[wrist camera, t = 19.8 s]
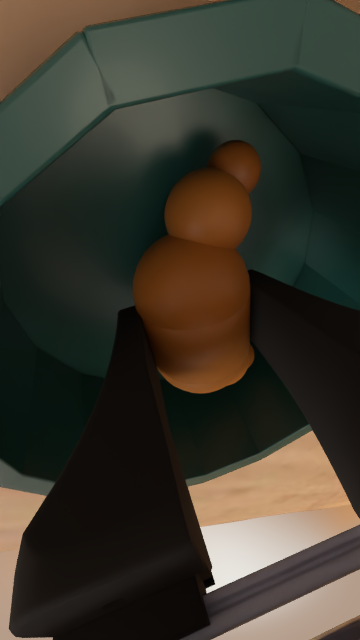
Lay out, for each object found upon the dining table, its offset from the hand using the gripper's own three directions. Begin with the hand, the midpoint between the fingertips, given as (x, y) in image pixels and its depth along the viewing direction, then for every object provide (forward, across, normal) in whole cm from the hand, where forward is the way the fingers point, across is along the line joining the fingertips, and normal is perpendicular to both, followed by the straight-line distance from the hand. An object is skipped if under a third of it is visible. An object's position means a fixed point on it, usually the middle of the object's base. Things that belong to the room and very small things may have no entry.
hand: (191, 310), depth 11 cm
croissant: (+1, 0, 0) cm, 1 cm away
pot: (+3, 0, 0) cm, 3 cm away
